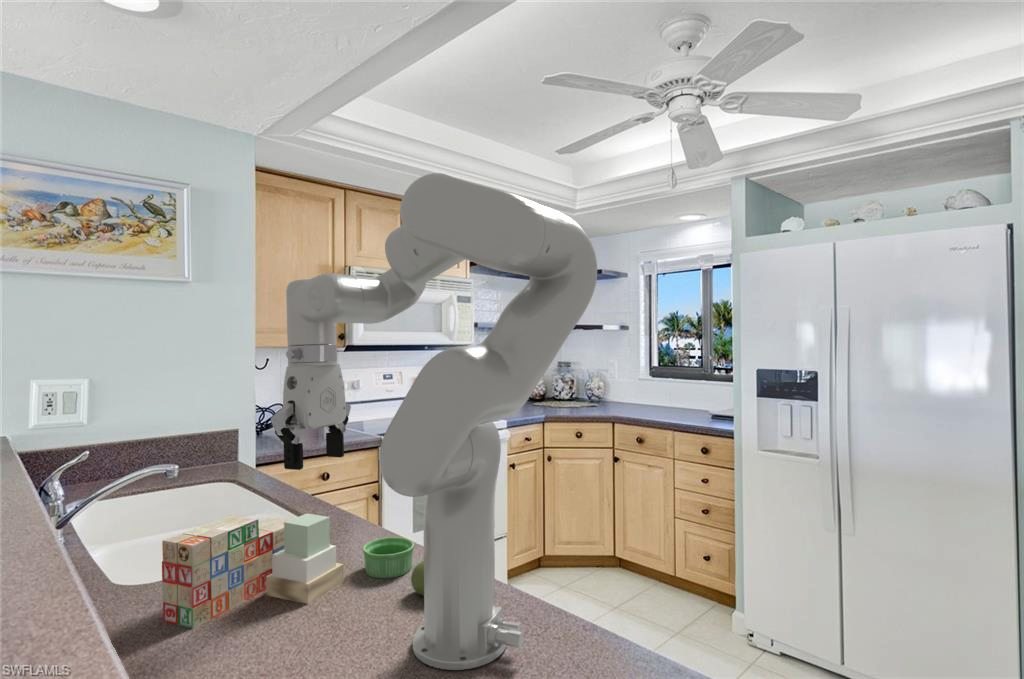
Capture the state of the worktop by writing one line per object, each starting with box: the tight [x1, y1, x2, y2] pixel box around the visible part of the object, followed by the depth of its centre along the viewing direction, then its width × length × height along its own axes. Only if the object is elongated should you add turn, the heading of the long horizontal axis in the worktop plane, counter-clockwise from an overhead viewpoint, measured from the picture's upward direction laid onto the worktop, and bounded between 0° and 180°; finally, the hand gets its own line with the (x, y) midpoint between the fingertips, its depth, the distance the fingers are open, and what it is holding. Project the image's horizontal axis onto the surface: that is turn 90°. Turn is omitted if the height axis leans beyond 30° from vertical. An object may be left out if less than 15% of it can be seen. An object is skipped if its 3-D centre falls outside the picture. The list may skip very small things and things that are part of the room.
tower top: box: [272, 544, 337, 583], centre depth 93 cm, size 7×7×4 cm
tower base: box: [265, 562, 344, 605], centre depth 93 cm, size 8×8×4 cm
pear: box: [410, 560, 424, 597], centre depth 90 cm, size 6×5×10 cm
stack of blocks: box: [161, 515, 292, 630], centre depth 92 cm, size 21×6×12 cm, turn 158°
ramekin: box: [362, 536, 415, 579], centre depth 101 cm, size 9×9×4 cm
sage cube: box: [284, 513, 331, 558], centre depth 93 cm, size 5×5×5 cm
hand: (315, 462), depth 91 cm, fingers open, 9 cm apart
